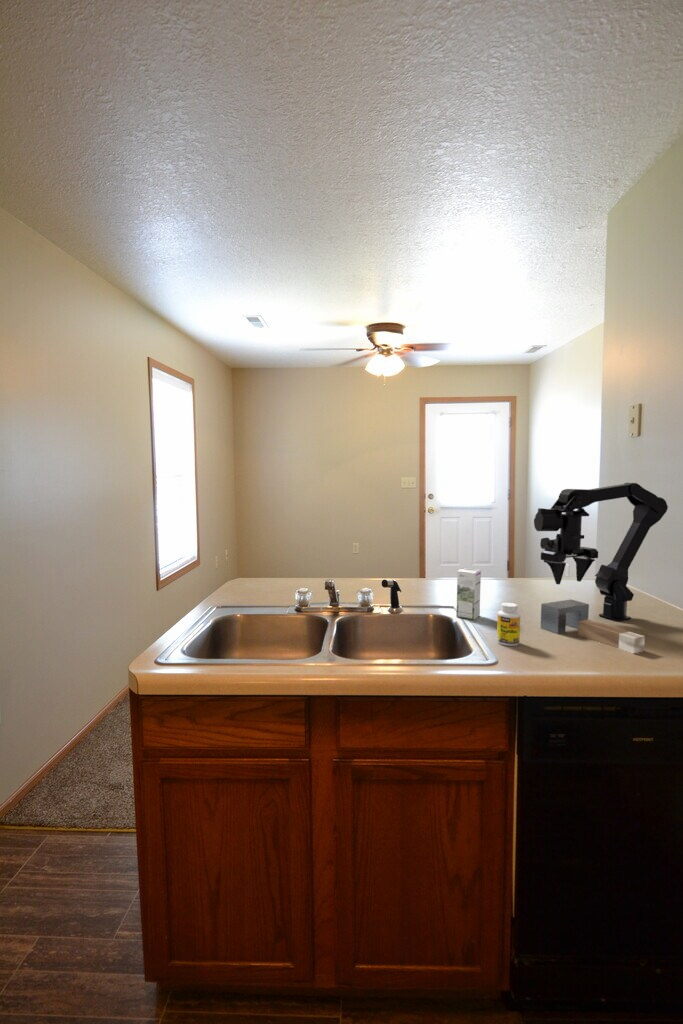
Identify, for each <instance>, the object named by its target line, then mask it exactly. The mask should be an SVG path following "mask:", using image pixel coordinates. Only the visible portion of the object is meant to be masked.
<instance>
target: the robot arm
mask: <svg viewBox="0 0 683 1024" xmlns="http://www.w3.org/2000/svg"><path fill="white" fill-rule="evenodd" d="M621 498H626V499H627V500H628V502H629V503H630V504H631V505H632V506H634V507H633V510H632V517H633V518H632V519H633V520H632V522H631V524H630V527H629V528H628V530H627V532H626V533H625V536H624V538H623V540H622V542H621V544H619V548H618V549H617V550H616V552H615V555H614V557H613V558H612V560H611V562H610V563H609V564H607V565H606V564H601V565H600V567H599V569H598V572H596V574H595V575H594V576H595V580H594V581H595V582H594V583H595V584H596V587H597V589H598V590H599V592H600V596H601V595H602V596H604V597H603V598H604V599H603V605H602V606H603V611H602V613H599V614H598V616H599V617H602V618H606V619H609V620H612V621H616V622H621V621H624V620H625V621H626V620H629V619H630V620H631V619H632V617H631V616H629V615H627V611H628V610H627V609H628V602H631V601H633V598H634V596H635V594H634V593H633V592H632V591H631V590H630V588H628V586H627V584H628V582H629V569H630V567H631V564H632V563H633V561H634V559H635V557H636V556H637V553H638V551H639V549H641V548H640V547H641V546H642V544H643V542H644V541H645V539H646V537H647V535H648V533H649V530H650V529H651V528H652V527H653V526H654V525H655V524H657V523H658V522H660V521H661V519H662V518H663V517H664V516H665V515H666V513H667V511H668V509H669V506H668V503H667V501H666V499H664V498H663V497H660V496H657V495H656V494H654V493H653V492H651V491H649V490H647V489H645V488H644V487H643V486H641V485H640V484H639V483H637V482H625V483H621V484H614V485H609V486H604V487H603V486H602V487H596V488H589V489H581V488H579V489H577V488H565V489H562V490H561V492H560V493H559V495H558V498H557V499H556V501H555V502H554V503H553V505H552V506H551V507H550V508H542V507H541V508H540V507H539V508H537V512H536V514H535V515H534V519H533V525H534V529H535V530H536V532H557V531H559V530H560V531H559V532H560V533H556V536H555V539H550V538H549V537H543V538H540V545H539V546H540V548H541V549H542V551H541V552H540V560H542V561H543V563H545V564H547V565H548V566H549V567H550V571H551V572H552V573H551V574H552V575H553V578H554V581H555V582H554V583H555V584H556V585H561V582H562V579H563V576H564V572H565V570H566V569H565V568H566V564H567V562H565V561H566V560H567V558H572V559H573V561H574V562H575V569H576V571H575V573H576V581H577V582H582V580H583V578H584V577H585V575H586V573H587V572H588V571H589V568H590V567H591V566H592V564H593V563H594V562H596V559H598V558H599V551H598V550H597V548H594V547H587V546H582V541H581V540H584V539H585V535H584V534H582V521H583V520H582V519H583V517H589V516H590V513H589V512H587V511H586V510H585V508H586V507H589V506H590V505H592V504H594V503H598V502H603V501H611V500H617V499H621Z"/></svg>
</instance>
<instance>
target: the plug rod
mask: <svg viewBox="0 0 683 1024" xmlns="http://www.w3.org/2000/svg"><path fill="white" fill-rule="evenodd" d="M580 636H581V638H583V637H584V639H586V638H587V640H589V639H590V641H592V640H593V642H595V641H596V643H598V642H600V643H599V644H601V643H603V644H602V645H604V644H606V645H605V646H607V645H609V646H608V647H610V646H612V647H611V648H613V647H615V648H614V649H616V648H618V649H617V650H619V649H621V650H620V651H622V650H624V651H623V652H625V651H627V652H626V653H628V652H631V653H637V654H639V653H638V652H641V653H643V652H642V651H644V652H645V638H646V637H645V635H642V634H638V633H635V632H633V631H629V630H624V629H622V628H618V627H615V626H611V625H608V624H604V623H601V622H599V621H594V620H592V619H588V620H583V621H579V624H578V629H577V637H580ZM631 653H630V654H631Z"/></svg>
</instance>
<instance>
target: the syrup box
mask: <svg viewBox="0 0 683 1024" xmlns="http://www.w3.org/2000/svg"><path fill="white" fill-rule="evenodd" d="M456 574H457V575H456V577H457V578H456V579H457V580H456V618H460V619H461V618H462V619H466V618H467V619H468V620H472V621H473V620H476V619H477V618H479V617H480V616H481V615H480V614H481V583H482V582H481V580H482V569H477V568H468V567H467V568H465V567H462V568H460V569H458V570H457V573H456ZM478 616H479V617H478ZM467 619H466V620H467Z"/></svg>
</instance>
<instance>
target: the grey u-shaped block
mask: <svg viewBox="0 0 683 1024" xmlns="http://www.w3.org/2000/svg"><path fill="white" fill-rule="evenodd" d="M540 606H541V607H540V629H542V628H543V629H542V630H545V631H548V632H551V633H554V634H556V633H557V635H558V634H564V633H566V630H567V628H566V627H567V626H569V627H571V628H574V629H577V630H578V624H579V621H583V620H589V608H590V604H589V603H586V602H581V601H578V600H575V599H564V600H559V601H558V600H557V601H551V602H545V603H544V602H543V603H541V604H540Z"/></svg>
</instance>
